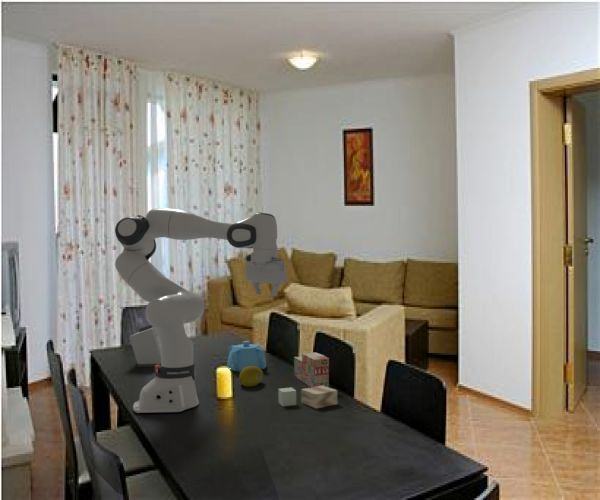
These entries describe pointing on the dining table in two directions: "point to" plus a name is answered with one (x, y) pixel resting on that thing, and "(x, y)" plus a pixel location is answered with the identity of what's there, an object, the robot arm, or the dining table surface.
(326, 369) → the cardboard box
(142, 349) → the alarm clock
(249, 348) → the decorative pot
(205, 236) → the robot arm
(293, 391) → the sage cube
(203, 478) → the dining table surface
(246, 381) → the lemon
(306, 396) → the birch base block
